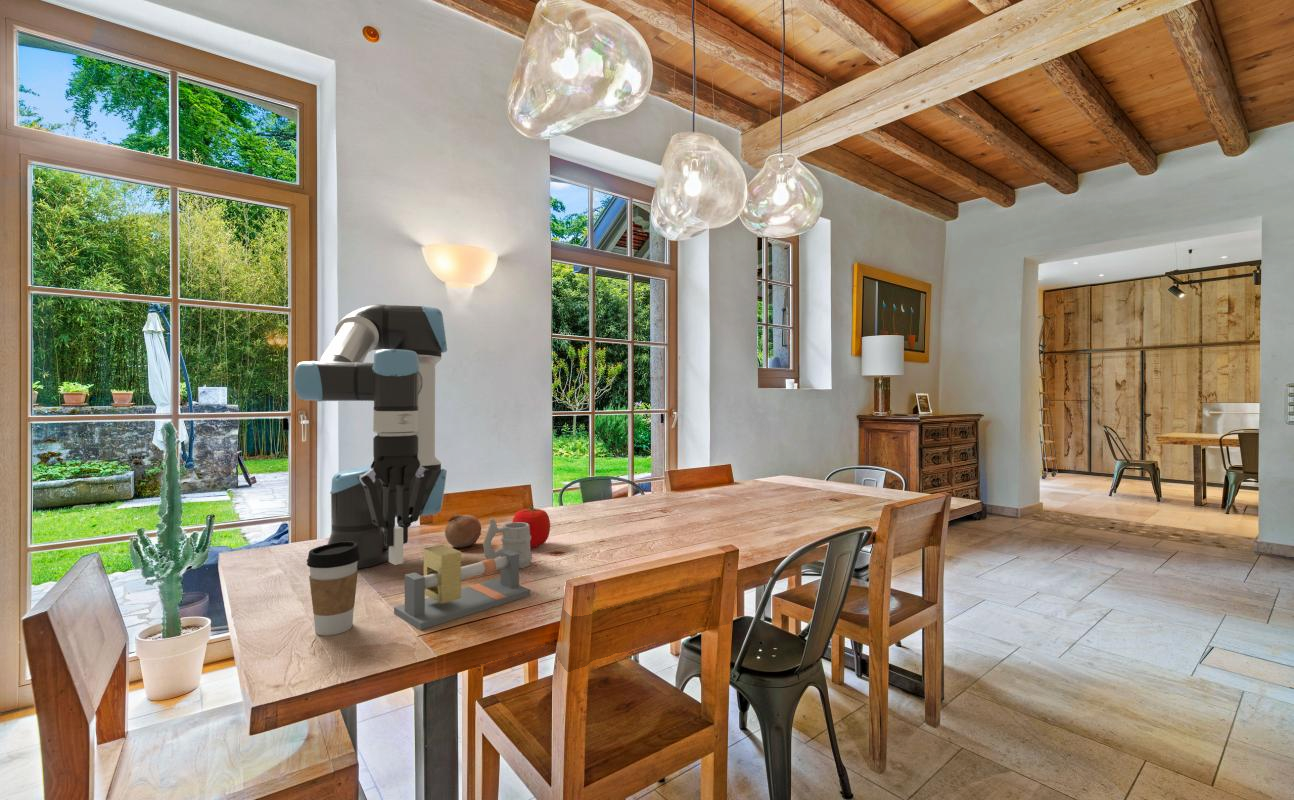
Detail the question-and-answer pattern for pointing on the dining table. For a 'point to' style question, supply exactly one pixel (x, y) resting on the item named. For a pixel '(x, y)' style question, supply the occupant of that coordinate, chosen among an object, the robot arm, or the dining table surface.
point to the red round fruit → (535, 524)
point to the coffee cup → (333, 586)
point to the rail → (462, 592)
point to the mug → (510, 541)
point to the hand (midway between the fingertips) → (395, 562)
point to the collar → (443, 572)
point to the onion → (462, 530)
